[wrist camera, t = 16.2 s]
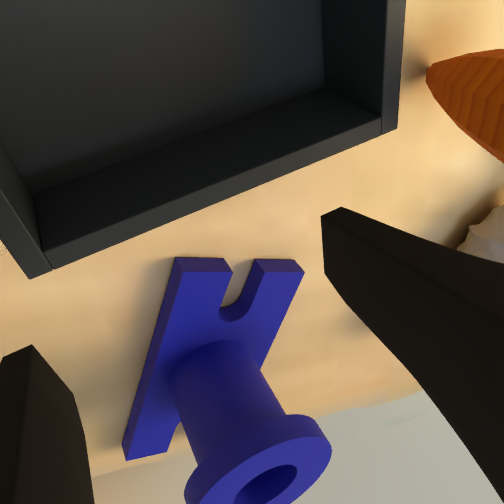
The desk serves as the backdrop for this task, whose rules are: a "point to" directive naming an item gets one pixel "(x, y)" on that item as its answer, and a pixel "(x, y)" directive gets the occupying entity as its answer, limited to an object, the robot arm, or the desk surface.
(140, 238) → the desk surface
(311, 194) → the desk surface
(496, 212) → the seahorse
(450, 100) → the carrot
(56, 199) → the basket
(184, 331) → the mount
